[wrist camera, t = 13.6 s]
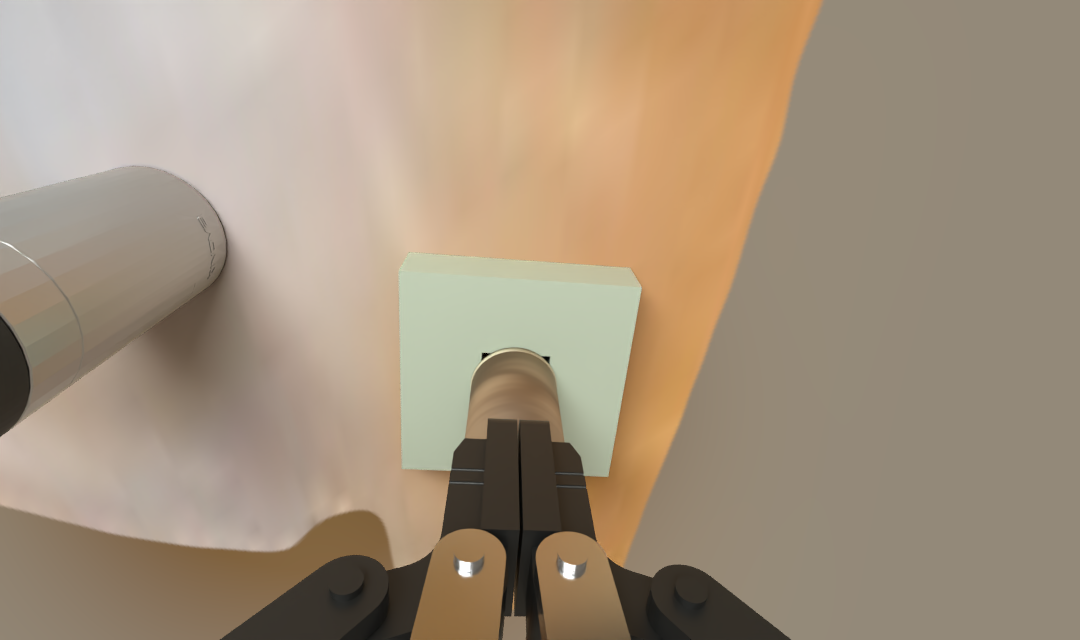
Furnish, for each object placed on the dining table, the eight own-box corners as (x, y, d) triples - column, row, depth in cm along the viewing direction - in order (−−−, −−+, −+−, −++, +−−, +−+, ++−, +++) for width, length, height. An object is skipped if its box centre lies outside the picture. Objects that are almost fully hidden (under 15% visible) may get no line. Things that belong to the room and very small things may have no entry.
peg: (472, 392, 44) (460, 494, 33) (475, 322, 41) (463, 409, 31) (548, 396, 44) (560, 498, 34) (556, 327, 42) (572, 414, 31)
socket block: (410, 437, 46) (401, 468, 42) (408, 252, 39) (398, 270, 35) (600, 445, 47) (608, 476, 43) (630, 267, 40) (641, 287, 37)
